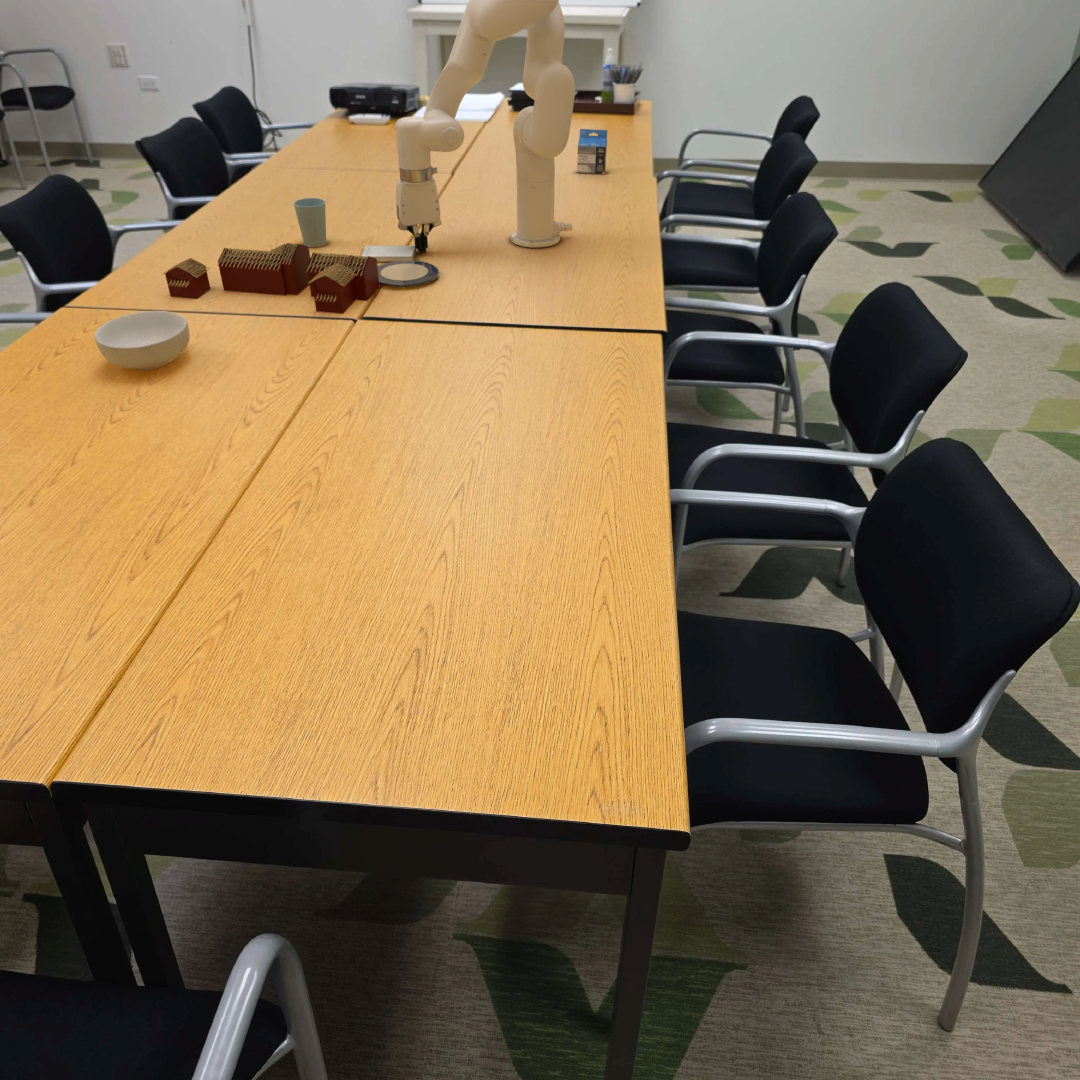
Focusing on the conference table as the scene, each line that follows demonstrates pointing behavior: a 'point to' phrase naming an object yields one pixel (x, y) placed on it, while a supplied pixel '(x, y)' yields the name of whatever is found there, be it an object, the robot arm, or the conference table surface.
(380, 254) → the hard drive
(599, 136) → the ink cartridge box
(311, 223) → the cup
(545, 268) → the conference table surface
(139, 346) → the cereal bowl
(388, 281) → the plate
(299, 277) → the toy houses
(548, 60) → the robot arm
